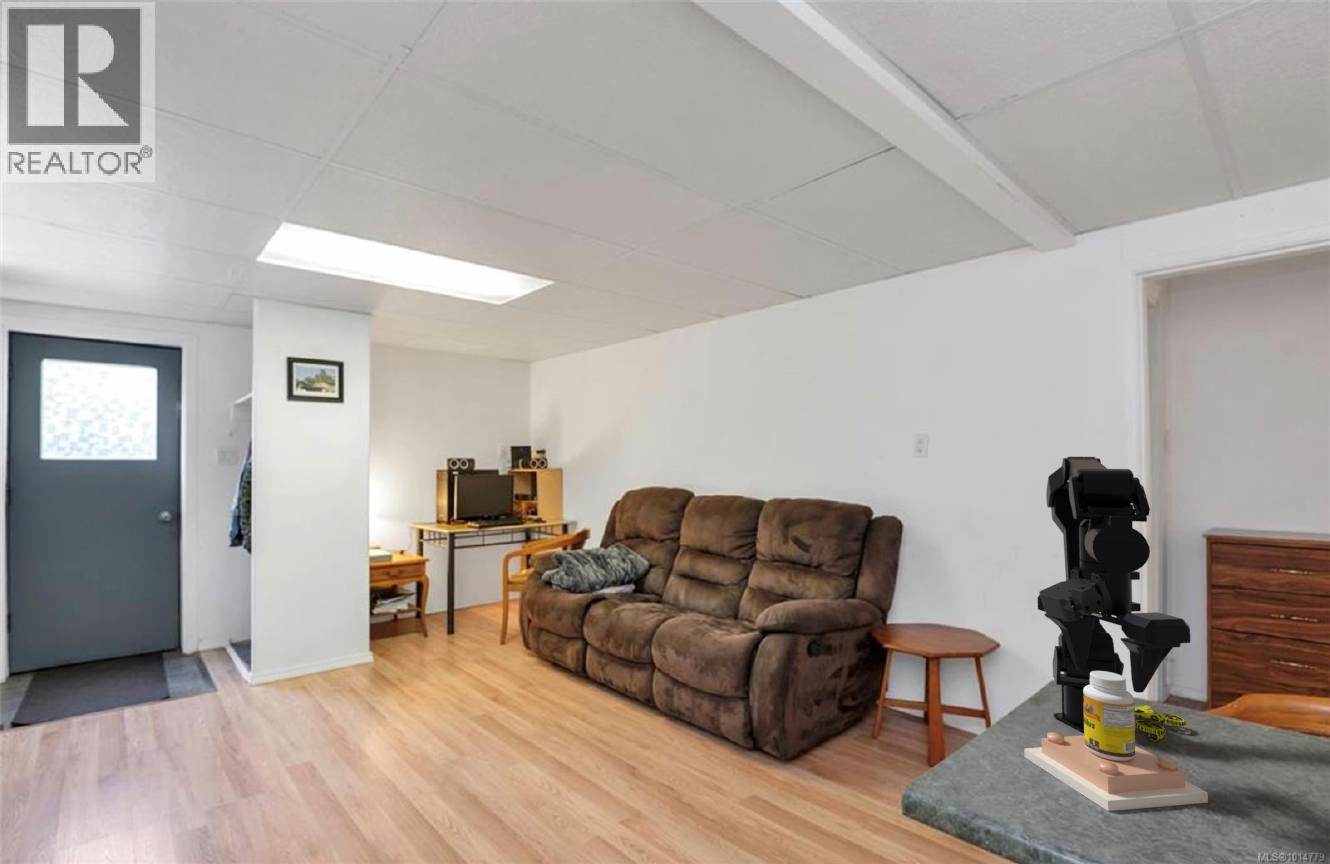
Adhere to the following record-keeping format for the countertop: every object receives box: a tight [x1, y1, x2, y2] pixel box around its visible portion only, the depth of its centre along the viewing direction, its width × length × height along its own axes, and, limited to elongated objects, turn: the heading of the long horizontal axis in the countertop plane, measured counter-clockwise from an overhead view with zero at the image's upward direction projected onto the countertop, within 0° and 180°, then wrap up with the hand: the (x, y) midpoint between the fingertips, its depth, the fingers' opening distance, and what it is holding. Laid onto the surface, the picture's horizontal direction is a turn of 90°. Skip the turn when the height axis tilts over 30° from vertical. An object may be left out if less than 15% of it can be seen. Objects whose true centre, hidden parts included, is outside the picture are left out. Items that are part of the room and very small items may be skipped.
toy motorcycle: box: [1134, 698, 1187, 742], centre depth 99 cm, size 12×4×7 cm
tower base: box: [1024, 731, 1209, 812], centre depth 84 cm, size 14×14×4 cm
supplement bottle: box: [1083, 671, 1136, 761], centre depth 84 cm, size 6×6×10 cm
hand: (1107, 679), depth 84 cm, fingers open, 9 cm apart
